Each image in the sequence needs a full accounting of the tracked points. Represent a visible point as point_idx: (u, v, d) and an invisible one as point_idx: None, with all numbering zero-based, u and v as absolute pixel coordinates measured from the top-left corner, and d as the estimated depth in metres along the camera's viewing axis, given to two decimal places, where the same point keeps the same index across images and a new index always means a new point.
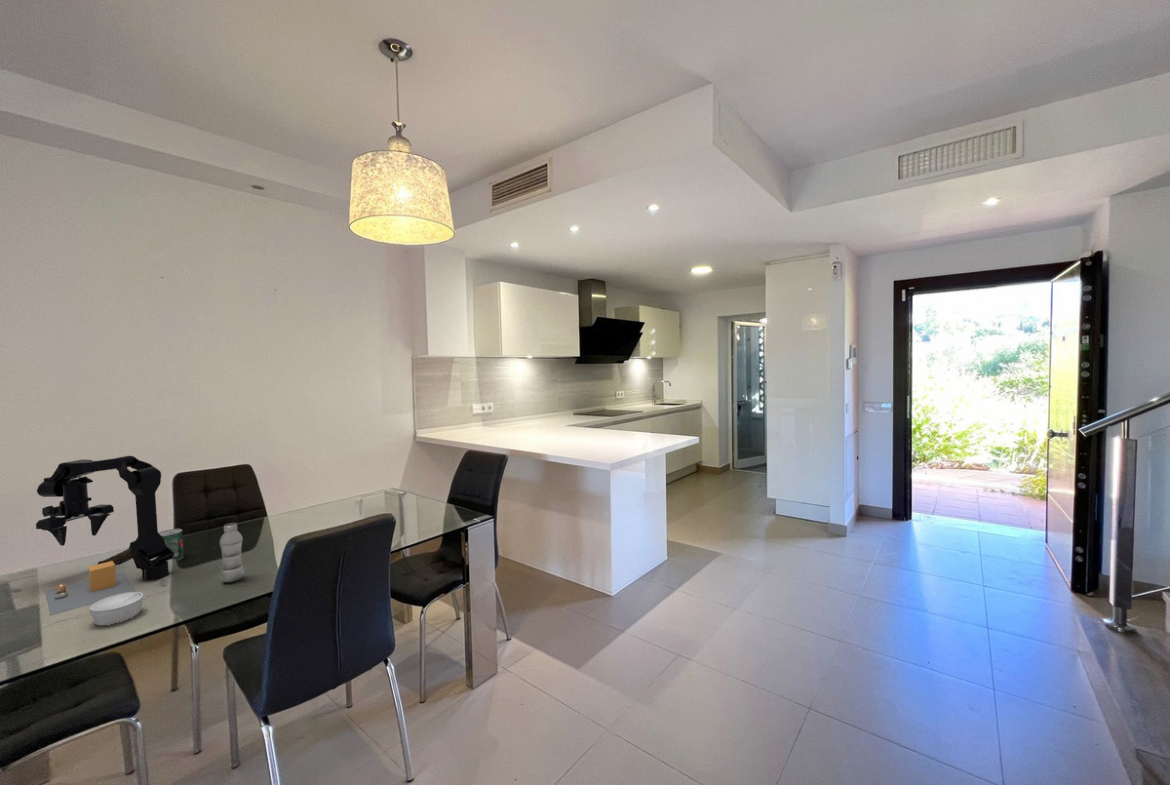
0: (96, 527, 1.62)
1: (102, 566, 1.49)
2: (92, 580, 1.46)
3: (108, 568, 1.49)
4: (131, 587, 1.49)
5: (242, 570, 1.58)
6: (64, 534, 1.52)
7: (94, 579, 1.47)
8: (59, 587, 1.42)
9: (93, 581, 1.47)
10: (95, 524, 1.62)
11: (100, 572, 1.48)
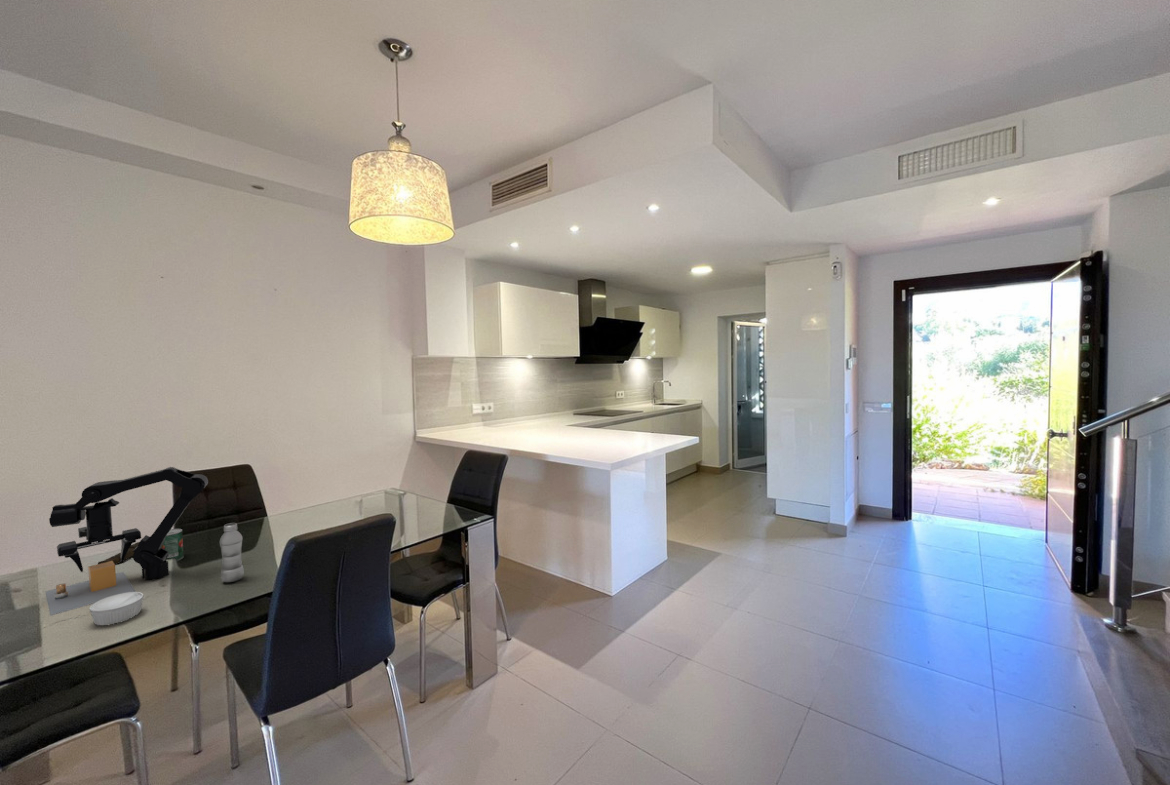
0: (122, 554, 1.53)
1: (102, 566, 1.49)
2: (92, 580, 1.46)
3: (108, 568, 1.49)
4: (131, 587, 1.49)
5: (242, 570, 1.58)
6: (78, 561, 1.44)
7: (94, 579, 1.47)
8: (59, 587, 1.42)
9: (93, 581, 1.47)
10: (122, 550, 1.53)
11: (100, 572, 1.48)
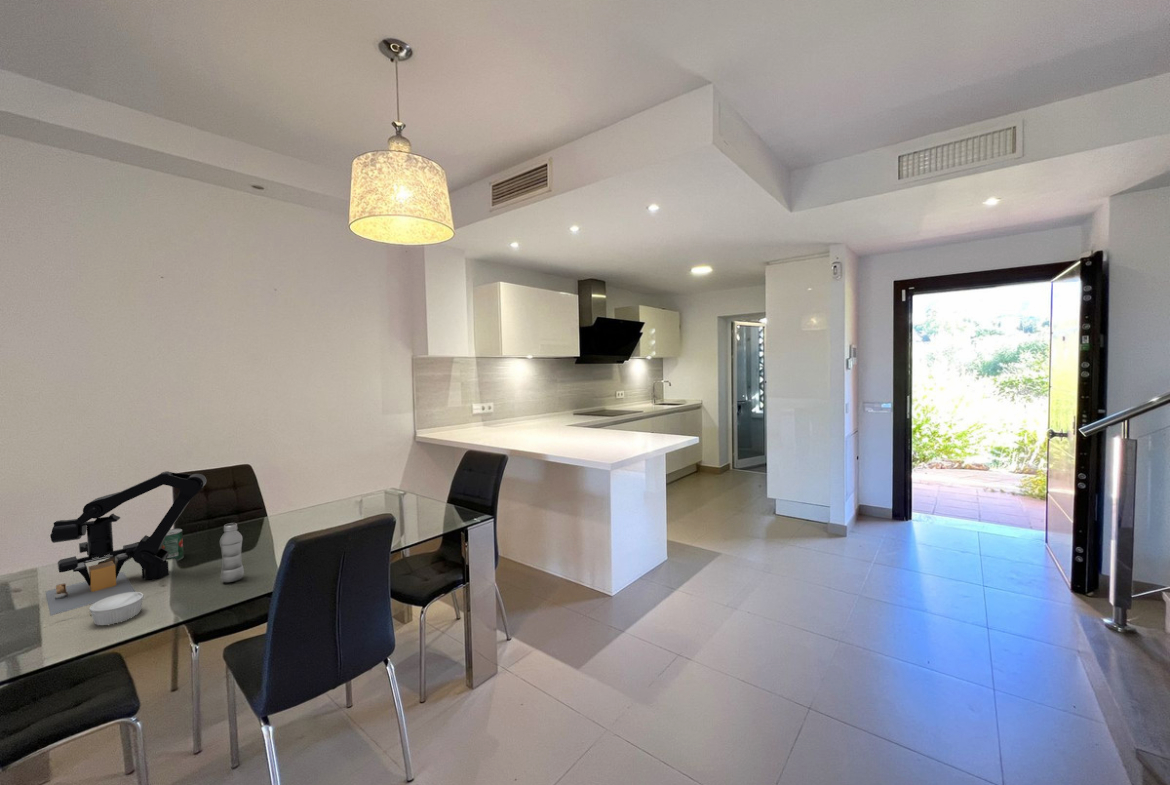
0: (115, 570, 1.52)
1: (102, 566, 1.49)
2: (92, 580, 1.46)
3: (108, 568, 1.49)
4: (131, 587, 1.49)
5: (242, 570, 1.58)
6: (86, 575, 1.46)
7: (94, 579, 1.47)
8: (59, 587, 1.42)
9: (93, 581, 1.47)
10: (116, 567, 1.52)
11: (100, 572, 1.48)
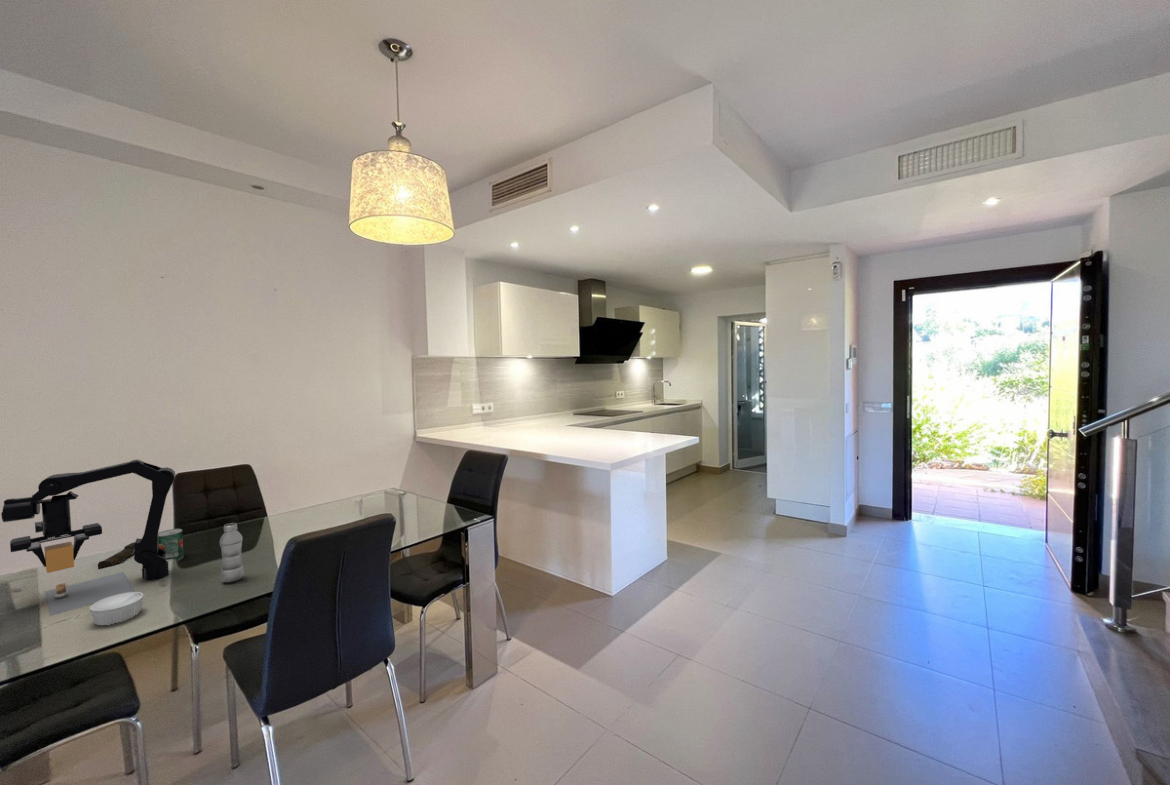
0: (73, 551, 1.44)
1: (59, 547, 1.42)
2: (47, 561, 1.39)
3: (65, 548, 1.42)
4: (131, 587, 1.49)
5: (242, 570, 1.58)
6: (41, 555, 1.38)
7: (50, 560, 1.39)
8: (59, 587, 1.42)
9: (48, 562, 1.39)
10: None
11: (57, 552, 1.40)
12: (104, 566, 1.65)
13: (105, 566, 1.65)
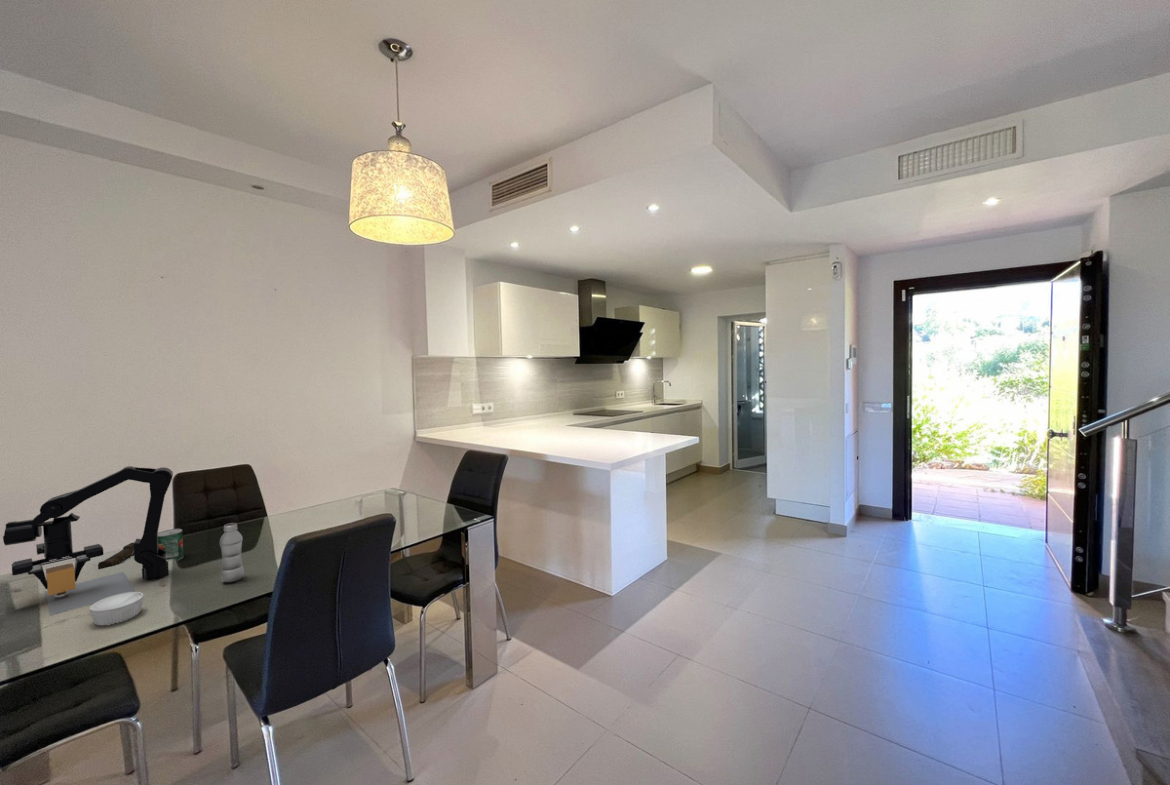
0: (75, 573, 1.45)
1: (60, 569, 1.42)
2: (49, 583, 1.39)
3: (66, 570, 1.42)
4: (131, 587, 1.49)
5: (242, 570, 1.58)
6: (42, 578, 1.39)
7: (51, 582, 1.40)
8: None
9: (50, 584, 1.39)
10: (75, 569, 1.45)
11: (58, 574, 1.41)
12: (104, 566, 1.65)
13: (105, 566, 1.65)
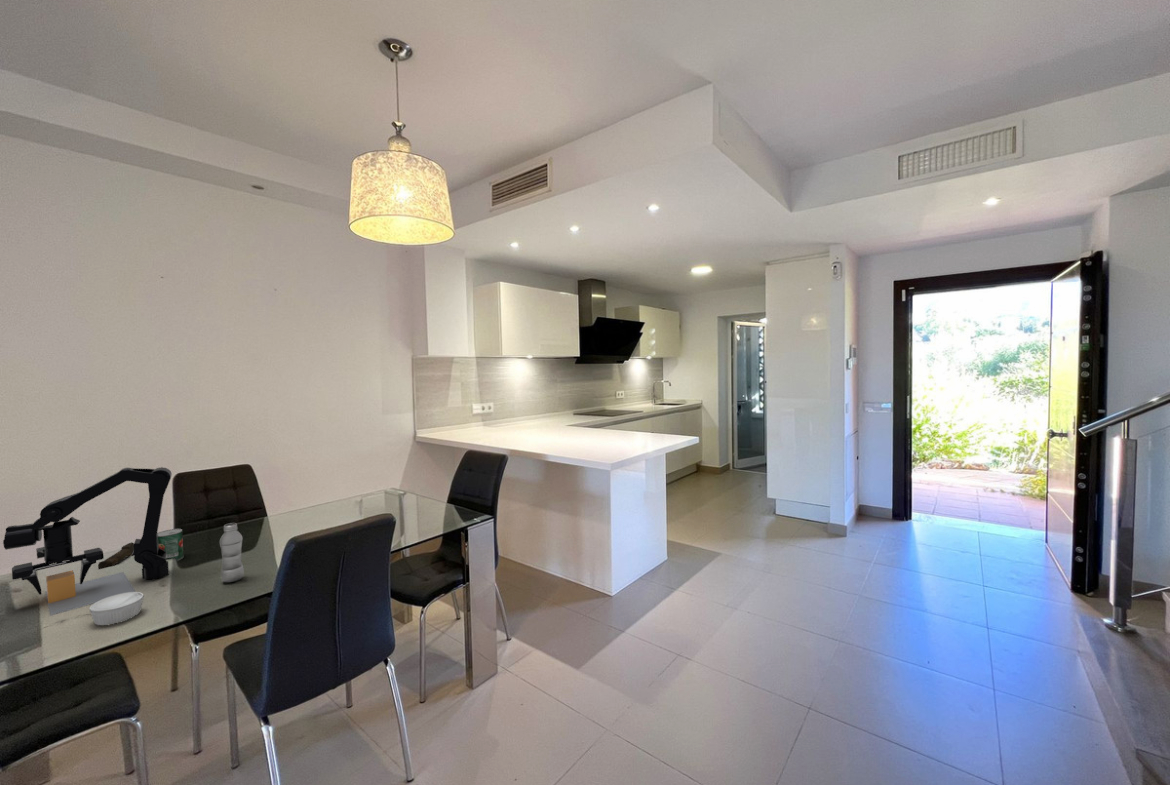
0: (80, 575, 1.46)
1: (61, 576, 1.42)
2: (49, 591, 1.39)
3: (67, 578, 1.42)
4: (131, 587, 1.49)
5: (242, 570, 1.58)
6: (36, 584, 1.38)
7: (51, 590, 1.40)
8: None
9: (50, 592, 1.39)
10: (81, 571, 1.46)
11: (58, 582, 1.41)
12: (105, 566, 1.65)
13: (106, 566, 1.66)
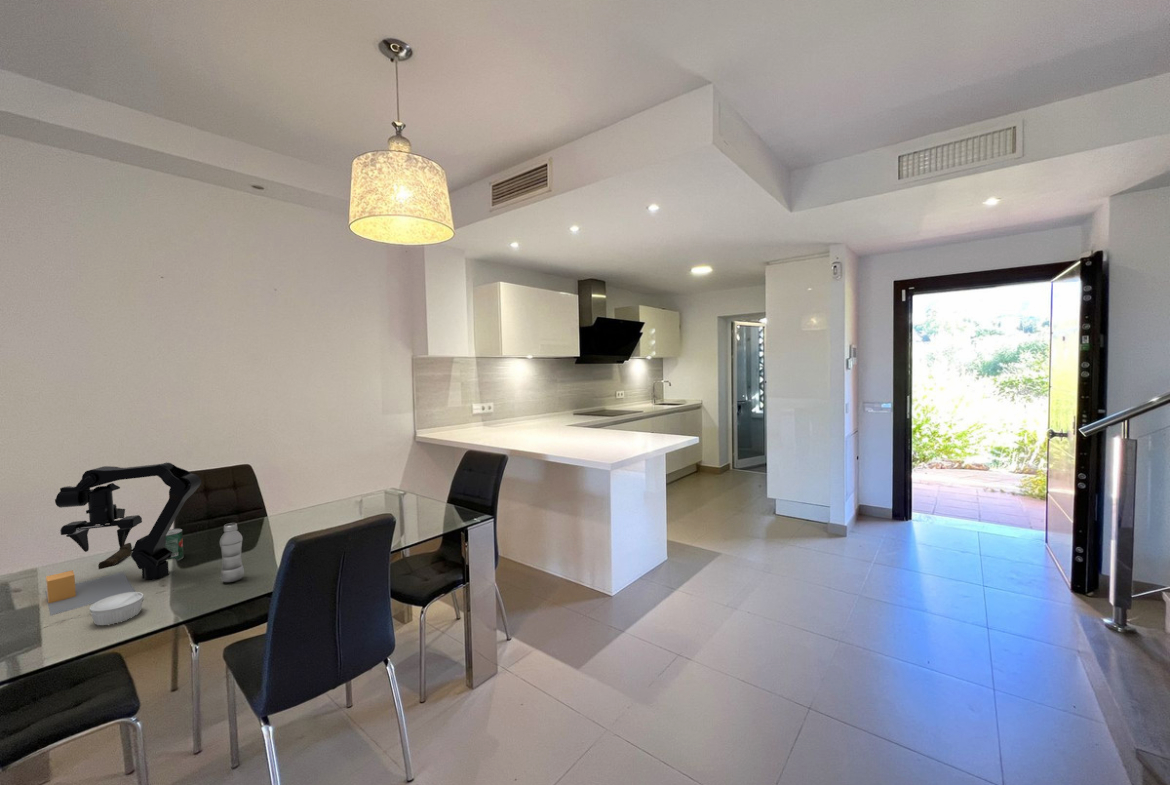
0: None
1: (61, 576, 1.42)
2: (49, 591, 1.39)
3: (67, 578, 1.42)
4: (131, 587, 1.49)
5: (242, 570, 1.58)
6: (79, 541, 1.49)
7: (51, 590, 1.40)
8: None
9: (50, 592, 1.39)
10: None
11: (58, 582, 1.41)
12: (105, 566, 1.65)
13: (106, 566, 1.66)
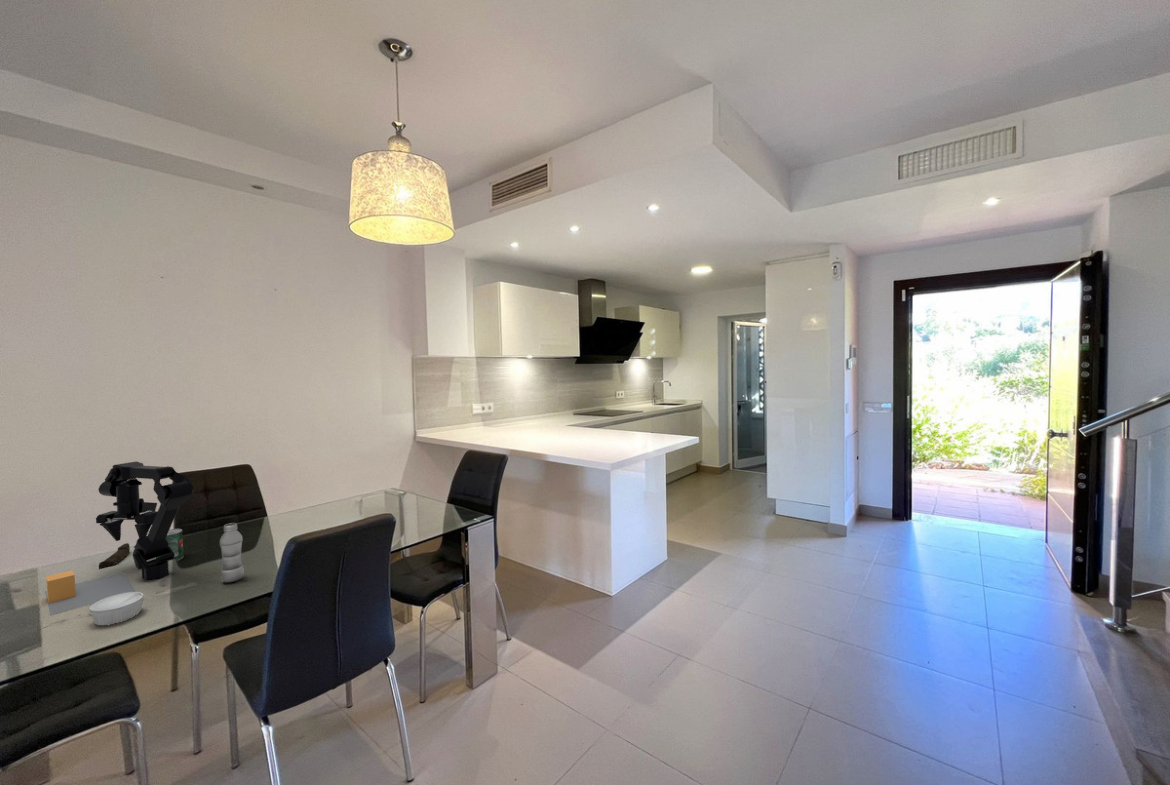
0: None
1: (61, 576, 1.42)
2: (49, 591, 1.39)
3: (67, 578, 1.42)
4: (131, 587, 1.49)
5: (242, 570, 1.58)
6: (109, 531, 1.58)
7: (51, 590, 1.40)
8: None
9: (50, 592, 1.39)
10: None
11: (58, 582, 1.41)
12: (106, 566, 1.66)
13: (107, 566, 1.66)
